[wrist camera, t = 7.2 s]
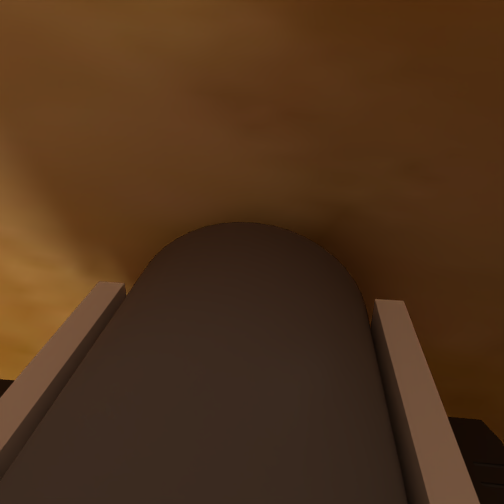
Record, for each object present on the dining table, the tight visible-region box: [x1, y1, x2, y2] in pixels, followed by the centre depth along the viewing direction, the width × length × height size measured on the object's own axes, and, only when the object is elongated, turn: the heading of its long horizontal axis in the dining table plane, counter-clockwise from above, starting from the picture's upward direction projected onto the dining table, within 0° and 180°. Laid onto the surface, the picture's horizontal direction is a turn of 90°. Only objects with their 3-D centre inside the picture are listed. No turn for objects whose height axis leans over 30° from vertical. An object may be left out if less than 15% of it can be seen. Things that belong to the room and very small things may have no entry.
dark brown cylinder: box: [0, 222, 408, 504], centre depth 9 cm, size 7×7×8 cm
